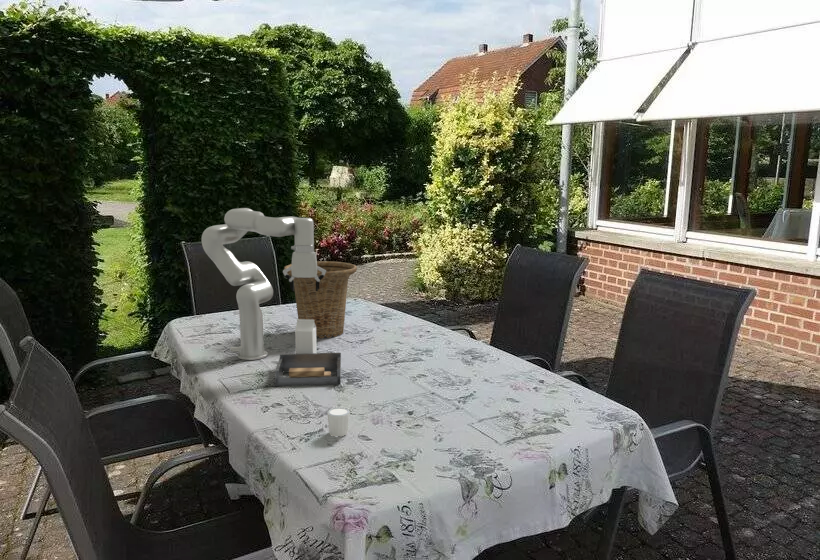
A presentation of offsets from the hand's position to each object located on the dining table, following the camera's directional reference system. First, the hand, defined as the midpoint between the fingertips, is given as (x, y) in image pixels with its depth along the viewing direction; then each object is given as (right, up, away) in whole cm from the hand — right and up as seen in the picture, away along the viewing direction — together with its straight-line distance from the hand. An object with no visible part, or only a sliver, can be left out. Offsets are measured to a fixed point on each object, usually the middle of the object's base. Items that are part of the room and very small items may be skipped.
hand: (304, 290), depth 252 cm
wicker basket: (-1, -22, +55) cm, 59 cm away
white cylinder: (+21, -43, -62) cm, 78 cm away
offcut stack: (+4, -35, -17) cm, 39 cm away
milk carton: (0, -31, +5) cm, 31 cm away
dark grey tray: (+4, -33, -11) cm, 35 cm away
